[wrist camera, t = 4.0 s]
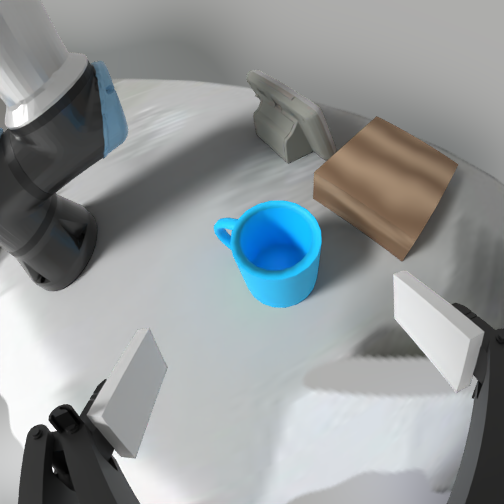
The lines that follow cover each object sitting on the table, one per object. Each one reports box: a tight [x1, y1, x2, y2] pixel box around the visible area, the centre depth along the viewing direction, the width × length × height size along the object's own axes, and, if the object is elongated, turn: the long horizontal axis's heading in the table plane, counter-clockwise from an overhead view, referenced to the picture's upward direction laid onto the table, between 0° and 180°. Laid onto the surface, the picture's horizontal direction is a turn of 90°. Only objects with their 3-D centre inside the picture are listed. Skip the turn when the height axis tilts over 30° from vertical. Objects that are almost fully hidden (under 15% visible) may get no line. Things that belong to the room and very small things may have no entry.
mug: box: [214, 201, 322, 308], centre depth 30 cm, size 12×8×8 cm
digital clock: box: [246, 70, 336, 163], centre depth 38 cm, size 16×9×11 cm, turn 19°
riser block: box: [313, 117, 458, 261], centre depth 33 cm, size 16×14×5 cm
